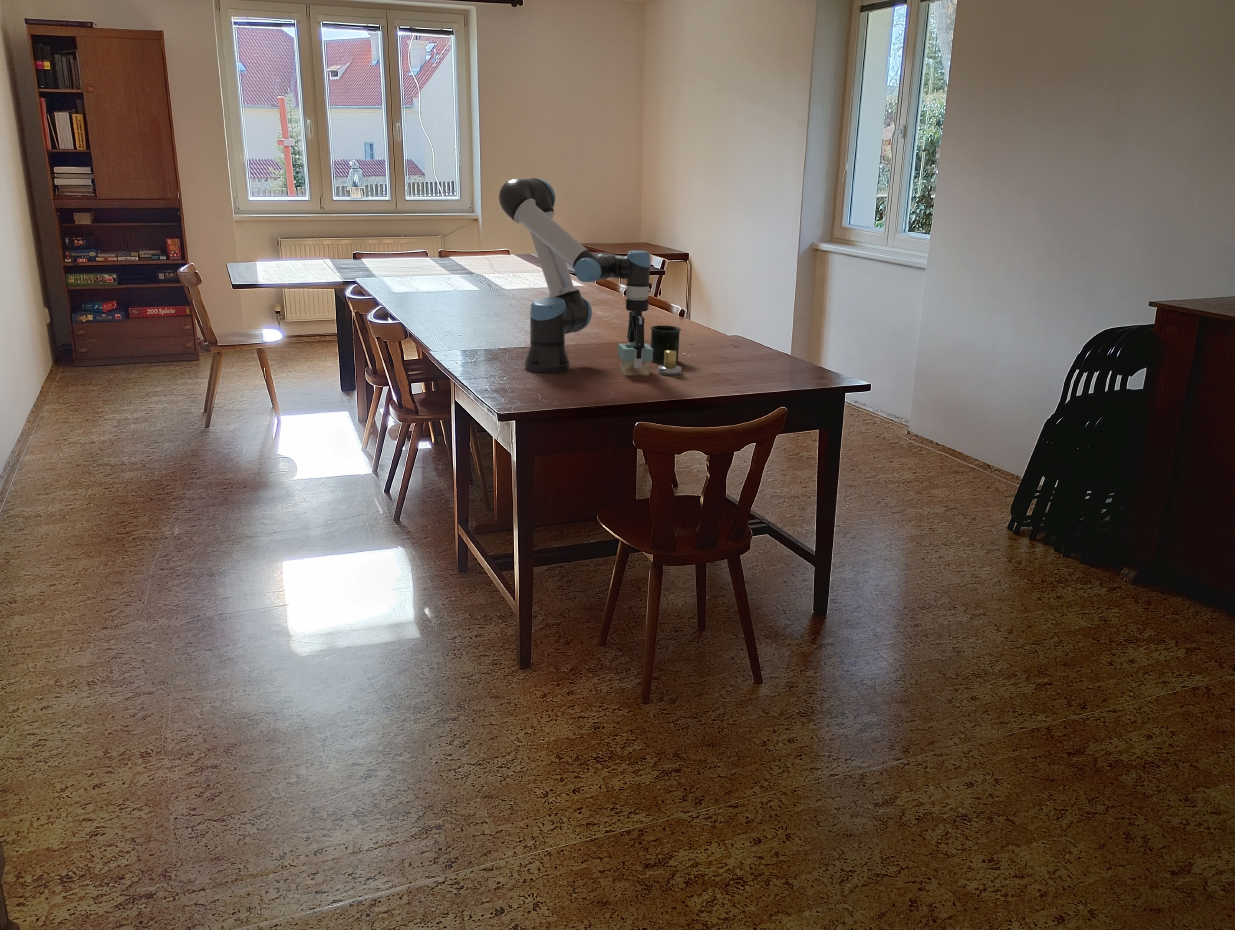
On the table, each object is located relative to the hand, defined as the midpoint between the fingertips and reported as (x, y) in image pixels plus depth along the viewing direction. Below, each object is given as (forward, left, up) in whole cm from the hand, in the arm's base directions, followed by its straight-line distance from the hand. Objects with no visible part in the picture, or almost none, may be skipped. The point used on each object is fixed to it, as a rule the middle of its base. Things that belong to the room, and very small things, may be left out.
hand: (634, 364), depth 320 cm
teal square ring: (0, 0, +2) cm, 2 cm away
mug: (+14, +20, -3) cm, 25 cm away
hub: (+12, -1, -3) cm, 12 cm away
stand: (0, 0, -3) cm, 3 cm away
